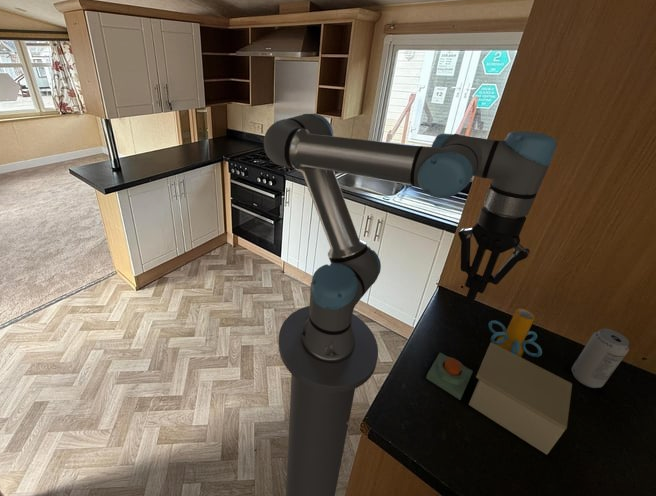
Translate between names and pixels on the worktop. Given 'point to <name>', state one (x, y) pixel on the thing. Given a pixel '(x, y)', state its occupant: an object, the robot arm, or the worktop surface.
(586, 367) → the energy drink can
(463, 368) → the control block
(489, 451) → the worktop surface
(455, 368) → the button
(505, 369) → the beige board
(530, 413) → the beige square box
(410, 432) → the worktop surface
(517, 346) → the cylinder
